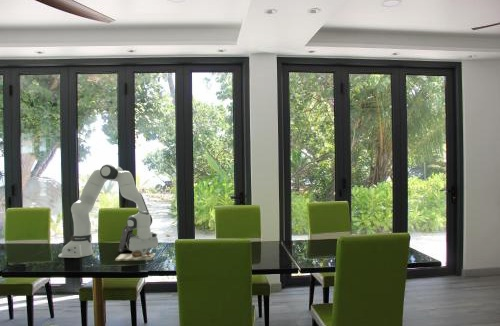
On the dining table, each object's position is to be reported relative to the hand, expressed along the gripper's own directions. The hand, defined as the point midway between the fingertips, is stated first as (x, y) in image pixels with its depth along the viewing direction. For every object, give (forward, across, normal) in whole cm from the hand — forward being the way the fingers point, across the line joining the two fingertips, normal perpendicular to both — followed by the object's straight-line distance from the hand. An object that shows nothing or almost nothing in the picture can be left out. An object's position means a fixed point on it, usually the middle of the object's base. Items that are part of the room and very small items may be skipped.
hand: (143, 255), depth 257 cm
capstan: (+1, 0, +4) cm, 4 cm away
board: (+2, -2, +6) cm, 7 cm away
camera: (+2, +5, +26) cm, 27 cm away
